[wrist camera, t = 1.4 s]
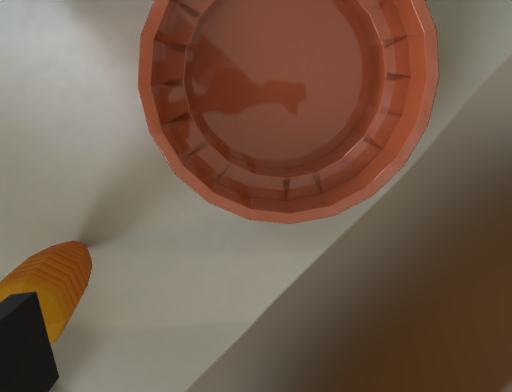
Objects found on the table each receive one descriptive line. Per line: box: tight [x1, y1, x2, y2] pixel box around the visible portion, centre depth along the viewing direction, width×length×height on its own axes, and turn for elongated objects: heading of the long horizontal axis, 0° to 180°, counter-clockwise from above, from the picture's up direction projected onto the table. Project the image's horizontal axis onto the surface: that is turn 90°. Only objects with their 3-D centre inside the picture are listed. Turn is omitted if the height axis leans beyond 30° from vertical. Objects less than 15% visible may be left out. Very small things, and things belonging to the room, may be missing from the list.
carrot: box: [0, 241, 92, 344], centre depth 30 cm, size 5×5×15 cm
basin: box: [138, 0, 439, 224], centre depth 31 cm, size 19×19×6 cm
